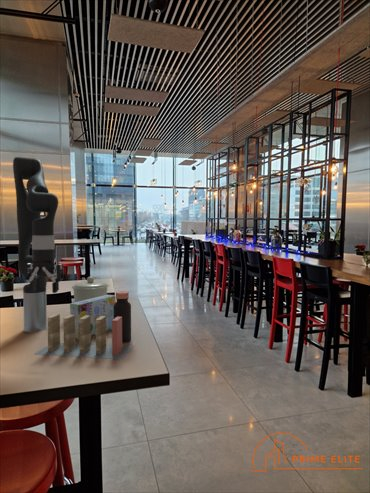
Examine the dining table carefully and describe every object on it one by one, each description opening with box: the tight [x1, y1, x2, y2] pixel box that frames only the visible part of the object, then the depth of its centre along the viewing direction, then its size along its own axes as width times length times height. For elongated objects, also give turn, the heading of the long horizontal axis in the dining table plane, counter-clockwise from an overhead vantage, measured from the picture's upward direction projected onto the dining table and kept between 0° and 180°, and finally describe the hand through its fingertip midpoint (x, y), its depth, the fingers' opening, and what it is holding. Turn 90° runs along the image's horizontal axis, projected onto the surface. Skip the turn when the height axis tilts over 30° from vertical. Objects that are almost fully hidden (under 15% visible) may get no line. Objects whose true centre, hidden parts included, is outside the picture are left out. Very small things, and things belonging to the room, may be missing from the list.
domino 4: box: [95, 316, 107, 354], centre depth 112 cm, size 2×5×12 cm, turn 172°
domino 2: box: [62, 314, 76, 352], centre depth 113 cm, size 2×5×12 cm, turn 172°
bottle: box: [114, 290, 132, 344], centre depth 123 cm, size 7×7×20 cm
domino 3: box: [79, 315, 92, 353], centre depth 112 cm, size 2×5×12 cm, turn 172°
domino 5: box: [111, 317, 123, 355], centre depth 111 cm, size 2×5×12 cm, turn 172°
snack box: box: [69, 294, 117, 340], centre depth 135 cm, size 21×6×15 cm, turn 149°
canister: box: [71, 276, 110, 303], centre depth 160 cm, size 18×18×21 cm
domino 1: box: [47, 313, 61, 351], centre depth 114 cm, size 2×5×12 cm, turn 172°
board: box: [34, 342, 134, 360], centre depth 113 cm, size 32×12×1 cm, turn 82°
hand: (44, 292), depth 115 cm, fingers open, 8 cm apart
